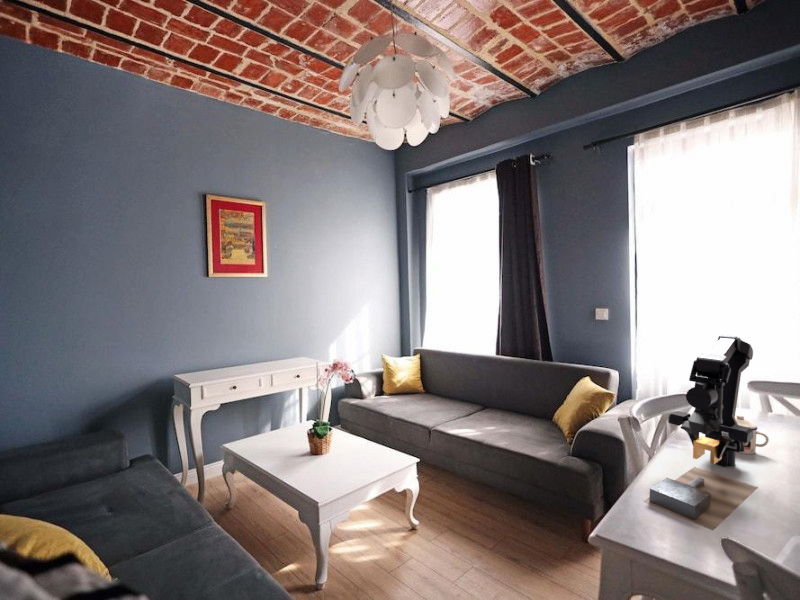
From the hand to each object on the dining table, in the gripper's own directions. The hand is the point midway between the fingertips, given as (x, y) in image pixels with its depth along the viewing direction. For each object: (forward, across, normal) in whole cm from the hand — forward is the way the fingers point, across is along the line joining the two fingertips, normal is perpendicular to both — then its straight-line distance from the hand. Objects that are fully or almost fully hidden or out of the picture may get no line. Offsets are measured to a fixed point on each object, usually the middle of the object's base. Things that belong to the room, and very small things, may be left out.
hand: (707, 454), depth 117 cm
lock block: (+1, 0, 0) cm, 1 cm away
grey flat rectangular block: (+7, +1, -15) cm, 17 cm away
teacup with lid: (+9, -1, +37) cm, 38 cm away
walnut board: (+8, +2, -11) cm, 14 cm away
